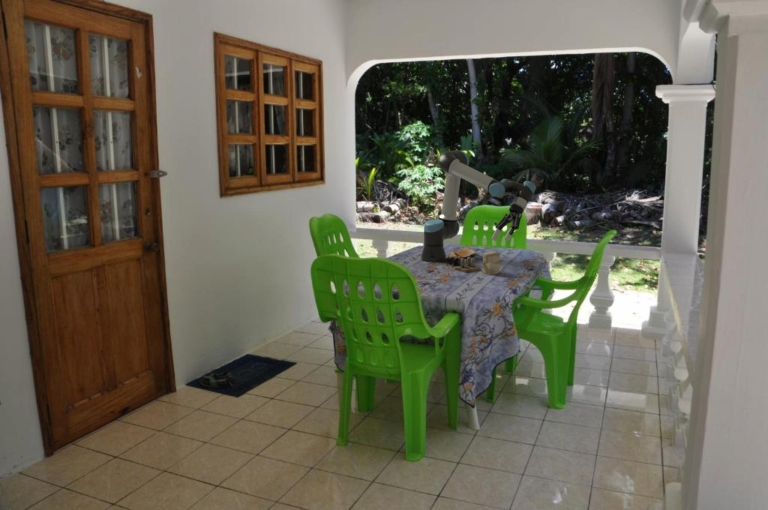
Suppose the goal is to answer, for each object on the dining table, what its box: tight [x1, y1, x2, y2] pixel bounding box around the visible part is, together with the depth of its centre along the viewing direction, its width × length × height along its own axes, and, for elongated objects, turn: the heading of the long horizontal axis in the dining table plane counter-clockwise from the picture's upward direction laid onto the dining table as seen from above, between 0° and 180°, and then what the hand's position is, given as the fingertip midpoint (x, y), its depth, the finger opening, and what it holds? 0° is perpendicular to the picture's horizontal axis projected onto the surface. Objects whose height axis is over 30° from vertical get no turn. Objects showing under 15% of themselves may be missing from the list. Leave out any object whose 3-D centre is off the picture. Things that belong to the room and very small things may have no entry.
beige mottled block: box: [482, 251, 501, 276], centre depth 340 cm, size 5×8×11 cm, turn 127°
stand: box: [454, 256, 481, 274], centre depth 347 cm, size 9×11×6 cm
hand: (499, 239), depth 340 cm, fingers open, 13 cm apart
